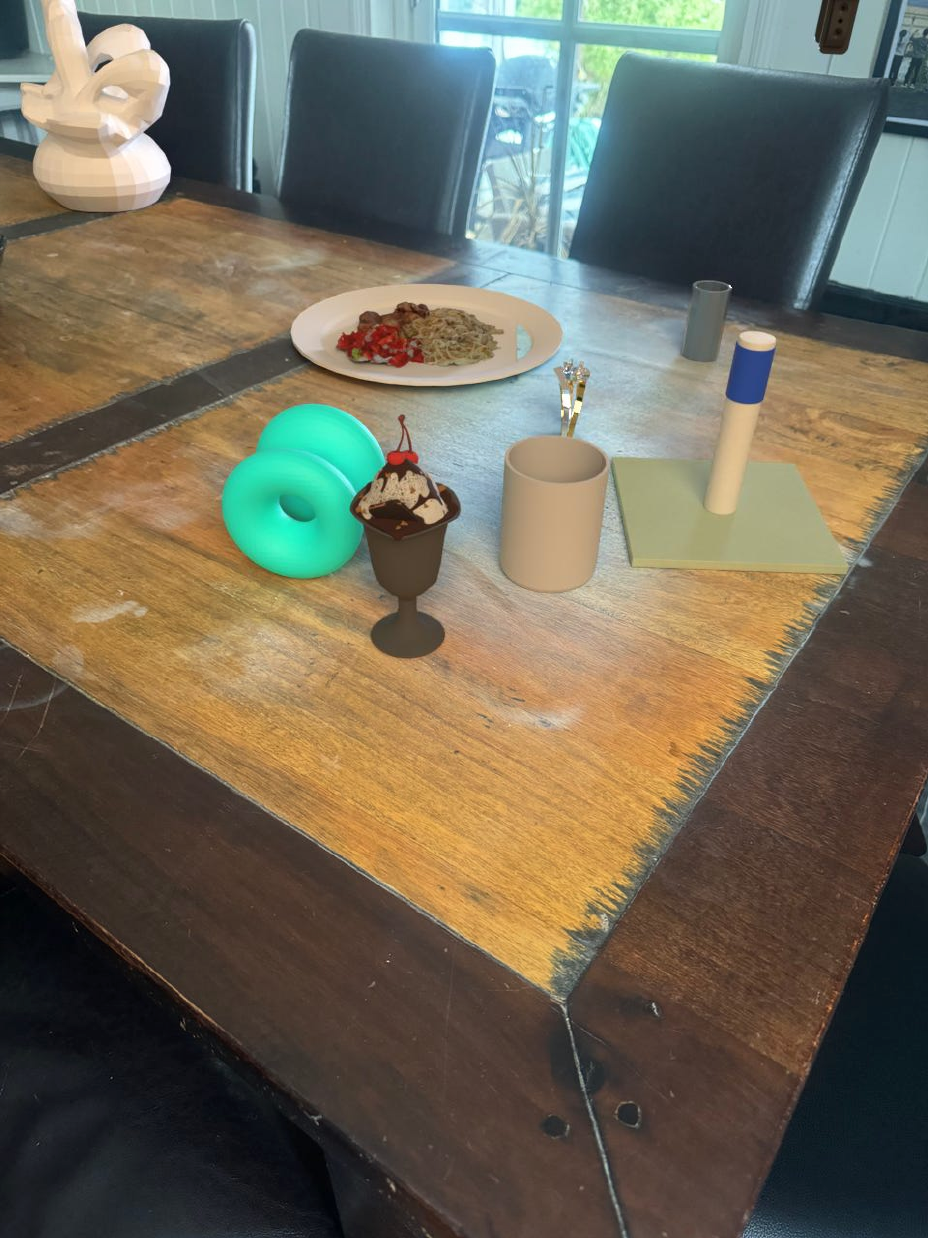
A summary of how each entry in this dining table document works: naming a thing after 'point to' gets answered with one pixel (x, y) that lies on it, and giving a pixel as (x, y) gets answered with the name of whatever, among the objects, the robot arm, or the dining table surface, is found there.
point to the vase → (98, 116)
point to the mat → (722, 519)
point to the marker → (739, 419)
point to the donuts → (302, 491)
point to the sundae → (406, 546)
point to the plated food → (425, 334)
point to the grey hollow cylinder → (705, 320)
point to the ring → (570, 393)
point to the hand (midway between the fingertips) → (828, 48)
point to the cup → (552, 512)
